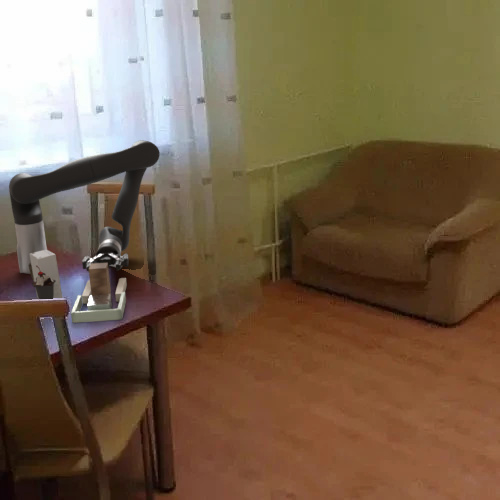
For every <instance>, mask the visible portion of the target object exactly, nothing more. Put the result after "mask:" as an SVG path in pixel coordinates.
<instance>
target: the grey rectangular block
mask: <svg viewBox="0 0 500 500" xmlns="http://www.w3.org/2000/svg"><path fill="white" fill-rule="evenodd" d="M86 306H87V311H90V310H104V309H112V307H111V304H110V299H102V300H89V302H88V304H86Z"/></svg>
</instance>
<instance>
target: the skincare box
mask: <svg viewBox="0 0 500 500" xmlns="http://www.w3.org/2000/svg"><path fill="white" fill-rule="evenodd" d="M30 260H31V265H32V271H33V277H34V281H33V282H35V281H36V278H37V277H38V273H39V272H40V271H41V272H43V273H46V274H47V275H48V276H49V277H50V278H51V279H53V280H56V282H55V283H54V296H53V298H63V299H64V297H63V296H64V295H63V292H62V286H61V280H60V275H59V274H60V273H59V268H58V267H59V266H58V261H57V256H56V254H55V253H53V252H52V251H50V250H48V249H47V250H42V251H38V252H34V253H30ZM36 265H37V266H38V267H39V268H40V270H39V268H38V267H36ZM35 293H36V299H38V300H39V298H38V295H37V291H36V290H35Z"/></svg>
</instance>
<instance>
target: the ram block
mask: <svg viewBox="0 0 500 500" xmlns="http://www.w3.org/2000/svg"><path fill="white" fill-rule="evenodd" d="M109 272H110V271H109V268H108V263H94V264H93V263H92V264H91V265H90V267H89V272H88V275H89V280H90V285H91V294H92V295H105V294H111V295H112V291H111V280H110V273H109ZM111 302H113V299H112V297H111Z"/></svg>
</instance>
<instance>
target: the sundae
mask: <svg viewBox="0 0 500 500" xmlns="http://www.w3.org/2000/svg"><path fill="white" fill-rule="evenodd" d="M36 267H38V266H37V265H36ZM38 268H39V267H38ZM39 270H40V268H39ZM55 282H56V280H53V279H51V278H50V277H49V276H48V275H47V274H46V273H43V272H41V271H40V272H39V273H38V277H37V278H36V281H35V282H34V281H33V282H31V285H32V287H34V288H35V292H36V291H37V294H36V296H37V295H38V298H39V299H53V296H54V283H55ZM38 298H37V299H38ZM39 299H38V300H39Z"/></svg>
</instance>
